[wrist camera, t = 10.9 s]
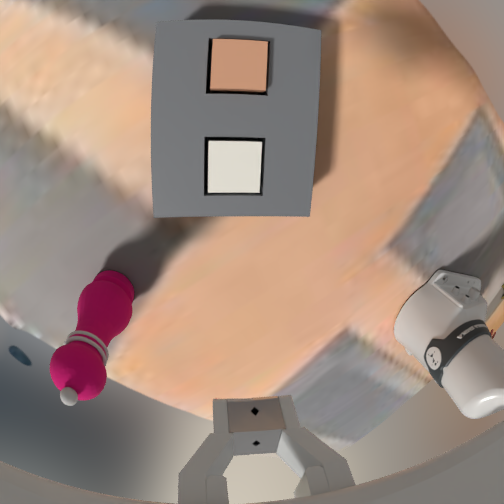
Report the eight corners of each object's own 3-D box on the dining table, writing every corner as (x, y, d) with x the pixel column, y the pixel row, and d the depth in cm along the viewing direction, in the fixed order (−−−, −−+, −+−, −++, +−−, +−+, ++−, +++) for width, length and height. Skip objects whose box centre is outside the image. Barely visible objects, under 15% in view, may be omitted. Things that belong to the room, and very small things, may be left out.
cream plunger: (254, 139, 32) (262, 141, 27) (252, 182, 34) (259, 192, 29) (208, 138, 31) (208, 141, 26) (208, 182, 33) (207, 192, 28)
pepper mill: (123, 259, 37) (70, 371, 19) (146, 303, 40) (118, 423, 22) (81, 275, 37) (18, 379, 19) (105, 316, 40) (64, 427, 22)
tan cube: (259, 53, 27) (267, 41, 22) (257, 95, 29) (265, 90, 25) (212, 51, 26) (212, 38, 22) (210, 93, 28) (210, 88, 24)
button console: (303, 43, 29) (321, 30, 23) (294, 201, 37) (309, 216, 31) (165, 37, 26) (156, 21, 21) (162, 202, 34) (153, 217, 29)
